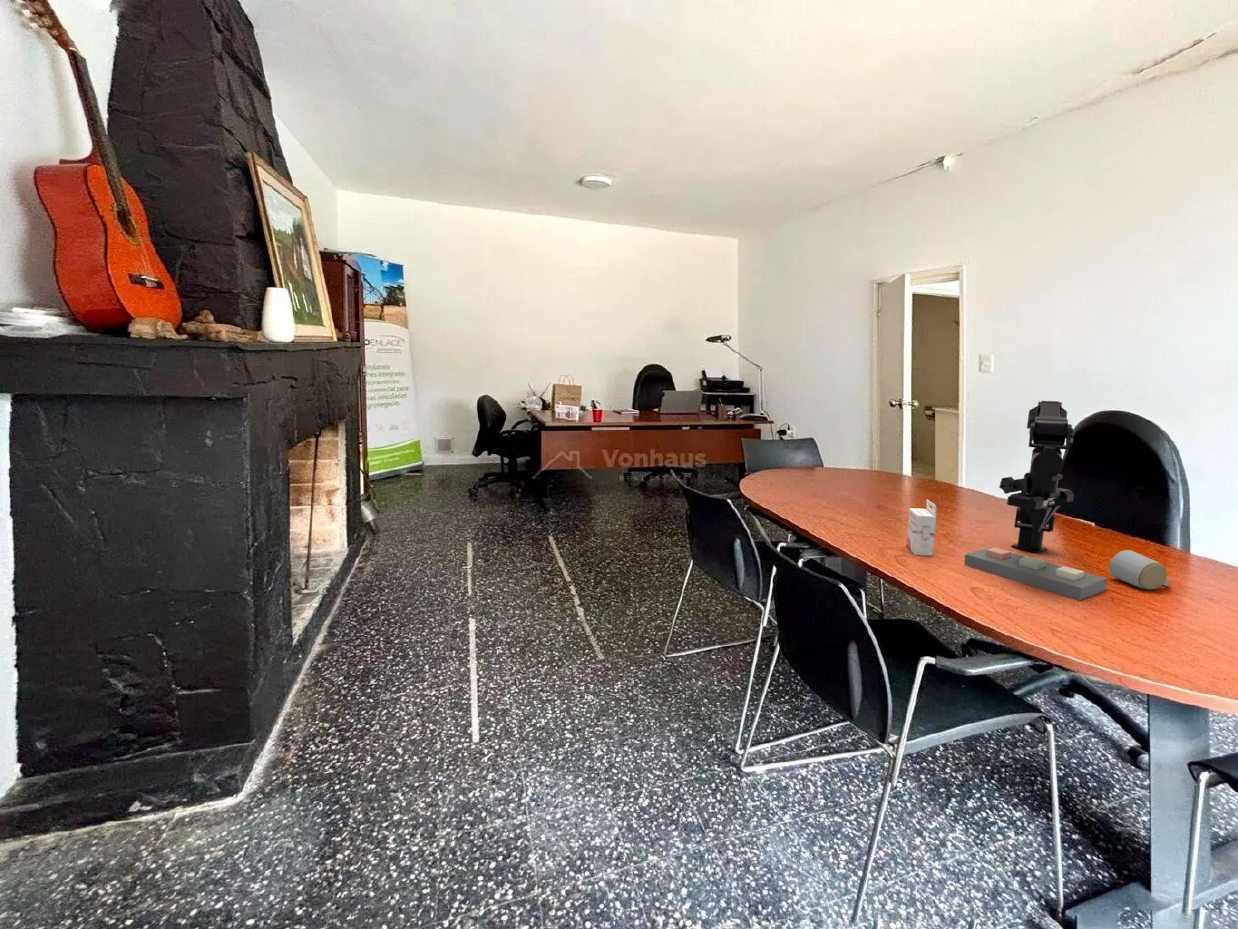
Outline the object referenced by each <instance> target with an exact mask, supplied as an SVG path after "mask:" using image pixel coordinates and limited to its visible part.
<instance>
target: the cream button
mask: <svg viewBox="0 0 1238 929" xmlns="http://www.w3.org/2000/svg"><path fill="white" fill-rule="evenodd" d="M1084 573H1085V571H1083V570H1081V569H1077V568H1073V567H1070V566H1066V565H1064V566H1062V567H1061V568H1058V569H1056V573H1055V575H1056V576H1059V577H1063V578H1067V579H1070V580H1074V581H1078V580H1080V579H1083V577H1084Z"/></svg>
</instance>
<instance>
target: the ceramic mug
mask: <svg viewBox="0 0 1238 929" xmlns="http://www.w3.org/2000/svg"><path fill="white" fill-rule="evenodd" d="M1108 569H1109V573H1110V574H1111V575H1112V577H1114V578H1115V579H1118V580H1119V581H1123V582H1125V583H1127V584H1130V585H1132V586H1134V587H1137V588H1139V589H1142V590H1143V589H1144V590H1148V591H1150V590H1152V591H1153V590H1156V589H1158V588H1160V587H1161V586H1163V585H1164V586H1163V587H1165V586H1166V587H1168V586H1169V584H1170V583H1171V582H1170V580H1168V579H1167V577H1168V572H1167V569H1166V567H1165V566H1164V565H1163V564H1161V563H1160V562H1158V561H1157V560H1154V559H1152V558H1149V557H1147V556H1145V555H1142V554H1141V553H1138V552H1135V551H1133V550H1130V549H1126V550H1121V551H1119V552H1117V553H1116V554H1114V556H1112V558H1111V560H1110V563H1109V568H1108Z"/></svg>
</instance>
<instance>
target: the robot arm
mask: <svg viewBox="0 0 1238 929" xmlns="http://www.w3.org/2000/svg"><path fill="white" fill-rule="evenodd" d="M1062 403H1063V402H1062V401H1061V402H1060V401H1059V400H1041V401H1038V403H1037V405H1036V406H1035V407H1033V408H1031V409H1029V411H1028V416H1027V423H1026V429H1028V430H1029V431H1028V434H1029V438H1028V439H1029V440H1028V448H1033V450H1032V453H1031V460H1030V468H1029V472H1025V473H1024V475H1023V477H1022V478H1018V479H1017V478H1016V479H1014V478H1013V477H1012V476H1008V477H1007V476H1006V477H1001V480H1000V482H999V487H998V488H999V489H1001V490H1002V491H1003V493H1004V494H1010V493H1011V494H1010V495H1008V496H1007V500H1006V505H1008V506H1011V507H1012V506H1013V507H1016V513H1015V517H1014V525H1013V526H1014V528H1019V529H1018V530H1019V531H1018V537H1017V538H1018V539H1017V543H1014V544H1012V545H1011V547H1012V548H1015V549H1020V550H1022V551H1026V552H1031V553H1034V554H1038V553H1041V552H1045V551H1047V550H1048V547H1046V546H1043V541H1044V533H1045V532H1047V533H1051V532H1054V527H1055V523H1056V516H1055V515H1054V514H1055V513H1056V512H1057V510H1058V509H1059V508H1060V507H1061V506H1062V505H1061V504H1057V503H1055V500H1054V499H1057V500H1058V499H1059V500H1064V502H1065V503H1071V502H1073V501H1074V498H1075V494H1074V493H1073V491H1072V490H1071V489H1067V488H1061V487H1058V486H1059V485H1058V484H1059V481H1060V480H1062V479H1063V477H1064V476H1063V474H1060V473H1061V472H1062V470H1063V469H1064V466H1065V462H1064V460H1063V458H1062V456H1063V451H1061V450H1068V451H1069V450H1070V447H1072V446H1073V444H1074V430H1075V429H1074V428H1073V425H1072V424H1071V423H1069V421H1068V420H1069V419H1068V411H1067V410H1066V409H1065V408H1064V407H1062ZM1016 492H1017V493H1016Z"/></svg>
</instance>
